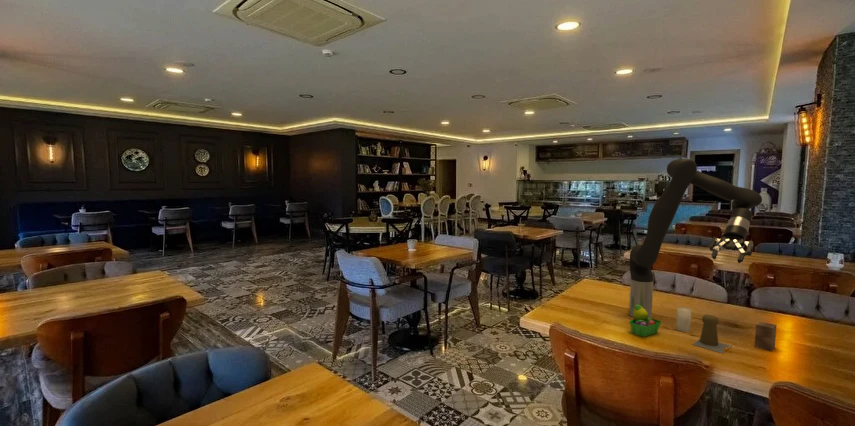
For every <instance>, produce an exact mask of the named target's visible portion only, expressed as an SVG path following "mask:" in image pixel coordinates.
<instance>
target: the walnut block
mask: <svg viewBox="0 0 855 426" xmlns="http://www.w3.org/2000/svg"><path fill="white" fill-rule="evenodd" d="M776 337H777V324H774V323H770V322H766V321H758V322H757V323H756V324H755V334H754V348H757V347H758V348H757V349H760V348H761V350H764V349H765V351H769V352H772V351H773V350H774V349H775V348H776Z"/></svg>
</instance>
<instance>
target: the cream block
mask: <svg viewBox="0 0 855 426" xmlns="http://www.w3.org/2000/svg"><path fill="white" fill-rule="evenodd" d="M676 310H677V311H676V324H675V325H676V328H675V329H676V330H677V331H679V332H685V333H686V332H687V333H688V332H689V333H690V332H691V323H692V322H691V320H692V309H690V308H689V307H686V306H685V307H683V306H679V307H677V308H676Z"/></svg>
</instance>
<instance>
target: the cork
mask: <svg viewBox="0 0 855 426" xmlns="http://www.w3.org/2000/svg"><path fill="white" fill-rule="evenodd" d="M701 320H702V322H703V325H702V330H701V334H700V337H699V339H700V342H701V343H703V344H706V345H710V346H717V345H718V342H719V338H718V328H717V325H718V324H719V318H718V317H717V316H715V315H713V314H704V315H703V316H702V317H701Z"/></svg>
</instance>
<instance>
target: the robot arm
mask: <svg viewBox="0 0 855 426" xmlns="http://www.w3.org/2000/svg"><path fill="white" fill-rule="evenodd" d="M666 173H667V175H668V176H669V177H670V178H671V180H670V181H669V184H668V187H667V188H666V189H665V191H664V192H662V193H661V195H660V196H659V197H658V199H657V200H656V201H655V203H654V205H653V207H652V208H651V211H650V213H649V216H648V219H647V221H648V222H647V229H646V235H645V238H644V239H643V242H642V244H637V245H634V246H633V247H632V248H631V250H630V253H629V273H630V289H629V290H630V293H629V304H628V307H629V308H628V313H629V316H630V317H633V318H635V317H634V315H633V312H634V306H635V305H640V306H642V307H643V308H644V309H645V310H646V311H647V312H648V316H647V317H650V318H653V316H652V315H653V299H654V298H653V296H654V295H653V294H654V274H653V272H652V266H653V265H655V263H656V262H657V260H658V257H659V254H660V250H661V247H662V244H663V243H664V239H665V238H666V235H667V233H668V232H669V229H670V227H671V225H672V223H673V221H674V218H675V216H676V214H677V211H678V210H679V209H678V208H679V206H680V204H681V202H682V199H683V198H684V196H685V193H686V191H687V189H688V188H689V185H690V184H691V185H693V186H695V187H698V188H701V189H703V190H704V191H707V192H708V193H710V194H713V195H714V196H716V197H718V198H720V199H723V200H725V201H727V202H728V201H731V215H730V218H729V220H728V221H727V223H726V224H727V225H726V227H725V230H724V232H723V234H722V237H721V238H717V237H716V236H713V237H712V239H711V241H710V243H709V246H708V249H709V251H710V252H711V258H712V260H717V257H718V254H719V252H720V251H721V252H722V251H724V250H730V251H736V250H737V251H738V253H739V254H738V257H737V260H736V261H737V263H738V264H741V263H743V262H744V259H745V257H746V256H749V257H750V256H752V254H753V251H754V250H753V249H754V242H753V240H749V241H746V238H747V235H748V233H749V231H750V230H749V229H750V224H751V221H752V218H753V212H752V211H751V209H753V208H755V207H758V206H759V205H761V203H762V202H763V198H762V195H761V194H760V193H759V192H758V191H756V190H754V189H749V188H746V187H741V186H736V185H734V184H733V183H730V182H727V181H726V180H723V179H721V178H718V177H715V176H712V175H709V174H706V173H704V172H701V171H699V170H698V165H697V163H696V162H695V161H694V160H693V159H690V158H679V159H678V158H677V159H673V160H671V161H670V162H669V163H668V164H667V166H666ZM744 246H746V250H744V249H743V247H744Z"/></svg>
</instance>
